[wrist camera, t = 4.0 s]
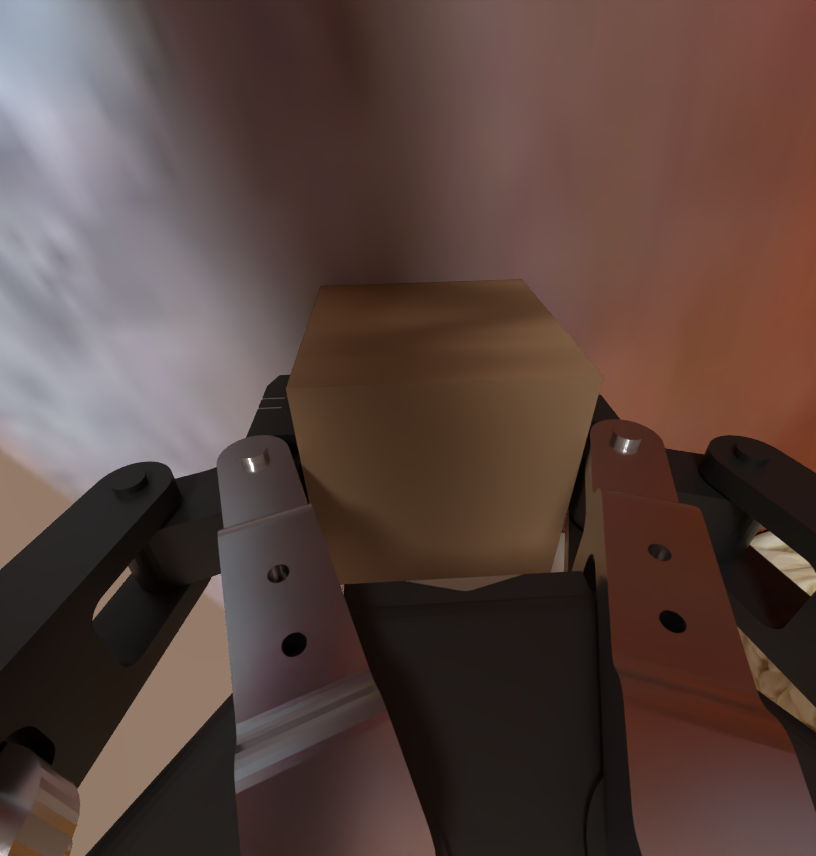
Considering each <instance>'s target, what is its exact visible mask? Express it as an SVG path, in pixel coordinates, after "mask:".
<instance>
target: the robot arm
mask: <svg viewBox="0 0 816 856" xmlns="http://www.w3.org/2000/svg"><path fill="white" fill-rule="evenodd" d="M289 378H290V375H280V376H278V377H277V378H276V379H275V380H274V381H272V382H271V383H270V384H269V385H268V386H267V388H266V391H265V393H264V395H263V400H261V403H260V405H259V409H258V410H257V412H256V415H255V417H254V420H253V422H252V424H251V427H250V429H249V432H248V434H247V437H246V438H244V439H241V440H239V441H237V442H235V443H233V444H231V445H230V446H228V447H227V448H226V449H224V450H223V451H222V453H221V454H220V455H219V457H218V459H217V467H216V468H213V469H210V470H207V471H204V472H200V473H196V474H192V475H188V476H184V477H180V478H176V479H175V478H174V476H173V474H172V471H171V469H170V468H169V467H168V466H166V465H165V464H162V463H159V462H140V463H135V464H131V465H128V466H125V467H122V468H120V469H117V470H115V471H113V472H111V473H110V474H108V475H106V476H105V477H103V478H102V479H101V480H100V481H98V482H97V483H96V484H95V485H94V486H93V487H92V488H91V489H90V490H88V491H87V492H86V493H85V494H84V495H83V496H82V497H81V498H80V499H78V500H77V501H76V502H75V503H74V504H73V505H72V506H71V507H70V508H68V509H67V510H66V511H65V512H64V513H63V514H62V515H61V516H60V517H59V518H57V519H56V520H55V521H54V522H53V523H52V524H51V525H50V526H49V527H47V528H46V529H45V530H44V531H43V532H42V533H41V534H40V535H39V536H37V537H36V538H35V539H34V540H33V541H32V542H31V543H30V544H29V545H27V546H26V547H25V548H24V549H23V550H22V551H21V552H20V553H19V554H17V555H16V556H15V557H14V558H13V559H12V560H11V561H10V562H9V563H7V564H6V565H5V566H4V567H3V568H2V569H1V570H0V856H70V853H71V849H72V837H73V834H74V832H75V829H76V826H77V822H78V818H79V812H80V798H79V794H78V791H77V789H78V787H79V786H80V784H81V782H82V781H83V779H84V778H85V776H86V774H87V773H88V771H89V770H90V768H91V767H92V765H93V764H94V762H95V761H96V759H97V757H98V756H99V754H100V752H101V751H102V750H103V748H104V746H105V745H106V743H107V742H108V740H109V738H110V737H111V735H112V734H113V732H114V731H115V729H116V728H117V726H118V724H119V723H120V721H121V720H122V718H123V717H124V715H125V713H126V712H127V710H128V709H129V707H130V706H131V704H132V703H133V701H134V699H135V698H136V696H137V695H138V693H139V691H140V690H141V688H142V687H143V685H144V684H145V682H146V680H147V679H148V677H149V676H150V674H151V672H152V671H153V670H154V668H155V666H156V665H157V663H158V662H159V660H160V658H161V657H162V655H163V654H164V652H165V651H166V649H167V647H168V646H169V645H170V643H171V641H172V640H173V638H174V636H175V635H176V634H177V632H178V630H179V629H180V627H181V626H182V624H183V623H184V621H185V619H186V618H187V616H188V615H189V613H190V612H191V610H192V608H193V607H194V605H195V604H196V602H197V601H198V599H199V597H200V596H201V594H202V593H203V591H204V590H205V588H206V587H207V585H208V583H209V581H210V580H211V577H212V576H215V575H218V574H221V578H222V588H223V598H224V608H225V619H226V629H227V639H228V649H229V659H230V670H231V680H232V690H233V693H232V694H231V695H230V696H229V697H228V698H227V699H226V701H225V702H224V703H223V704H222V705H221V706H220V707H219V708H218V709H217V711H216V712H215V713H214V714H213V715H212V716H211V717H210V718H209V719H208V721H207V722H206V723H205V724H204V725H203V726H202V727H201V728H200V729H199V730H198V732H197V733H196V734H195V735H194V736H193V737H192V738H191V739H190V741H188V743H187V744H186V745H185V746H184V747H183V748H182V749H181V750H180V751H179V753H178V754H177V755H176V756H175V757H174V758H173V759H172V760H171V761H170V763H169V764H168V765H167V766H166V767H165V768H164V769H163V770H162V771H161V773H160V774H159V775H158V776H157V777H156V778H155V779H154V780H153V781H152V782H151V784H150V785H149V786H148V787H147V788H146V789H145V790H144V791H143V793H142V794H141V795H140V796H139V797H138V798H137V799H136V800H135V801H134V802H133V804H132V805H131V806H130V807H129V808H128V809H127V810H126V811H125V812H124V813H123V815H122V816H121V817H120V818H119V819H118V820H117V821H116V822H115V823H114V824H113V826H112V827H111V828H110V829H109V830H108V831H107V832H106V833H105V835H104V836H103V837H102V838H101V839H100V840H99V841H98V842H97V843H96V844H95V845H94V847H93V848H92V849H91V850H90V851H89V852H88V853H87V854H86V855H85V856H816V732H815V731H813V730H812V729H811V728H809V727H808V726H806V725H805V724H804V723H802V722H801V721H800V720H798V719H797V718H795V717H794V716H793V715H791V714H790V713H788V712H787V711H786V710H784V709H783V708H782V707H780V706H779V705H777V704H776V703H775V702H773V701H772V700H770V699H769V698H768V697H766V696H765V695H764V694H762V693H761V692H759V691H758V690H757V689H756V686H755V683H754V679H753V676H752V673H751V670H750V666H749V663H748V660H747V657H746V653H745V650H744V647H743V644H742V641H741V637H740V634H739V631H738V628H739V629H740V630H741V631H742V632H743V633H744V634H745V635H746V636H747V637H748V638H749V639H750V640H751V641H752V642H753V643H754V644H755V645H756V646H757V647H758V648H759V649H760V650H761V651H762V652H763V654H764V655H765V656H766V657H767V658H768V659H769V660H770V661H771V662H772V663H773V664H774V665H775V666H776V667H777V668H778V669H779V670H780V671H781V672H782V673H783V674H784V675H785V676H786V677H787V678H788V680H789V681H790V682H791V683H792V684H793V685H794V686H795V687H796V688H797V689H798V690H799V691H800V692H801V693H802V694H803V695H804V696H805V697H806V698H807V699H808V700H809V701H810V702H811V703H812V704H813V705H814V707H815V708H816V591H815V592H814V593H813V594H812V595H811V596H810V595H808V594H807V593H806V592H805V591H804V590H803V589H801V588H800V587H799V586H798V585H797V584H796V583H794V582H793V581H792V580H791V579H790V578H789V577H787V576H786V575H785V574H784V573H783V572H781V571H780V570H779V569H778V568H777V567H776V566H774V565H773V564H772V563H771V562H770V561H769V560H767V559H766V558H765V557H764V556H763V555H761V554H760V553H759V552H758V551H757V550H756V549H754V548H753V547H752V546H751V545H750V543H751V541H752V540H753V538H754V537H755V535H756V534H757V532H758V531H759V529H760V528H761V526H764V527H765V528H766V529H767V530H769V531H770V532H771V533H772V534H774V535H775V536H776V537H778V538H779V539H780V540H781V541H783V542H784V543H785V544H786V545H788V546H789V547H790V548H791V549H793V550H794V551H795V552H796V553H798V554H799V555H800V556H801V557H803V558H804V559H805V560H806V561H807V562H808V563H809V564H810V565H811V566H812V568H813V569H814V571H815V573H816V473H815V472H813V471H811V470H810V469H808V468H807V467H805V466H803V465H802V464H800V463H799V462H797V461H795V460H794V459H792V458H791V457H789V456H787V455H786V454H784V453H783V452H781V451H779V450H778V449H776V448H774V447H773V446H770V445H768V444H766V443H764V442H761V441H758V440H755V439H752V438H747V437H742V436H733V435H728V436H720V437H717V438H715V439H713V440H712V441H711V442H710V444H709V446H708V448H707V450H706V452H705V454H697V453H691V452H684V451H677V450H671V449H666V448H665V447H664V443H663V441H662V439H661V438H660V437H659V436H658V435H657V434H656V433H655V432H654V431H652V430H651V429H649V428H647V427H645V426H643V425H641V424H638V423H635V422H631V421H627V420H620V418H619V417H618V416H617V415H616V413H615V412H614V411H613V410H612V408H611V407H610V406H609V404H608V403H607V402H606V401H605V399H604V398H603V397H602V396H601V395H598V398H597V402H596V406H595V410H594V413H593V417H592V421H591V424H590V428H589V432H588V436H587V439H586V443H585V447H584V451H583V454H582V458H581V462H580V465H579V469H578V473H577V477H576V480H575V484H574V488H573V491H572V495H571V499H570V503H569V506H568V510H569V511H568V515H567V519H566V523H565V546H564V572H552V573H534V574H523V575H520V576H516V577H513V578H510V579H506V580H503V581H500V582H497V583H493V584H490V585H487V586H484V587H480V588H477V589H474V590H470V591H460V590H454V589H448V588H442V587H436V586H431V585H425V584H419V583H413V582H407V581H392V582H374V583H357V584H344V595H343V592H342V589H341V586H340V583H339V581H338V578H337V575H336V572H335V569H334V566H333V563H332V561H331V558H330V555H329V552H328V549H327V546H326V543H325V541H324V538H323V535H322V532H321V529H320V526H319V523H318V521H317V518H316V515H315V512H314V509H313V507H312V505H311V503H309V499H308V494H307V489H306V484H305V480H304V475H303V470H302V465H301V460H300V455H299V450H298V446H297V441H296V436H295V431H294V426H293V421H292V416H291V412H290V407H289V402H288V397H287V392H286V387H287V384H288V381H289ZM127 566H128V567H129V568H130V570H131V572H132V574H131V575H130V576H129V577H128V578H127V579H126V581H125V582H124V583H123V584H122V586H121V587H120V588H119V589H118V590H117V592H116V593H115V594H114V595H113V597H112V598H111V599H110V600H109V601H108V603H107V604H106V605H105V606H104V608H103V609H102V610H101V611H100V613H99V614H98V615H97V616H96V617H95V619H94V620H93V621H92V619H93V613H94V610H95V608H96V606H97V604H98V602H99V600H100V599H101V597H102V596H103V595H104V594H105V592H106V591H107V590H108V589H109V588H110V587H111V585H112V584H113V583H114V582H115V581H116V580H117V578H118V577H119V576H120V575H121V573H122V572H123V571H124V570H125V569H126V568H127ZM737 627H738V628H737Z"/></svg>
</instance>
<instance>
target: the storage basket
mask: <svg viewBox="0 0 816 856" xmlns="http://www.w3.org/2000/svg"><path fill="white" fill-rule="evenodd" d="M750 545H751V546H752V547H753V548H754V549H756V550H757V551H758V552H759V553H760V554H761V555H763V556H764V557H765V558H766V559H767V560H769V561H770V562H771V563H772V564H773V565H774V566H776V567H777V568H778V569H779V570H780V571H781V572H783V573H784V574H785V575H786V576H787V577H789V578H790V579H791V580H792V581H793V582H794V583H796V584H797V585H798V586H799V587H800V588H801V589H803V590H804V591H805V592H806V593H807V594H808V595H810V596H811V595H812V594H813V593H814V592H815V591H816V573H815V571H814V569H813V568H812V566H811V565H810V564H809V563H808V562H807V561H806V560H805V559H804V558H803V557H801V556H800V555H799V554H798V553H796V552H795V551H794V550H793V549H791V548H790V547H789V546H788V545H786V544H785V543H784V542H783V541H781V540H780V539H779V538H778V537H776V536H775V535H774V534H772V533H771V532H770V531H768V532H765V533H761V534H758V535H756V536H755V537H754V538H753V540H752V541H751V543H750ZM737 628H738V627H737ZM738 631H739V634H740V637H741V641H742V644H743V647H744V650H745V653H746V657H747V660H748V663H749V666H750V670H751V673H752V676H753V679H754V683H755V686H756V689H757V690H758V691H759V692H761V693H762V694H764V695H765V696H766V697H768V698H769V699H770V700H772V701H773V702H775V703H776V704H777V705H779V706H780V707H782V708H783V709H784V710H786V711H787V712H788V713H790V714H791V715H793V716H794V717H795V718H797V719H798V720H800V721H801V722H802V723H804V724H805V725H806V726H808V727H809V728H811V729H812V730H813V731H815V732H816V708H815V707H814V705H813V704H812V703H811V702H810V701H809V700H808V699H807V698H806V697H805V696H804V695H803V694H802V693H801V692H800V691H799V690H798V689H797V688H796V687H795V686H794V685H793V684H792V683H791V682H790V681H789V680H788V678H787V677H786V676H785V675H784V674H783V673H782V672H781V671H780V670H779V669H778V668H777V667H776V666H775V665H774V664H773V663H772V662H771V661H770V660H769V659H768V658H767V657H766V656H765V655H764V654H763V652H762V651H761V650H760V649H759V648H758V647H757V646H756V645H755V644H754V643H753V642H752V641H751V640H750V639H749V638H748V637H747V636H746V635H745V634H744V633H743V632H742V631H741V630H740V629H739V628H738Z"/></svg>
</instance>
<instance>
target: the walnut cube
mask: <svg viewBox="0 0 816 856" xmlns="http://www.w3.org/2000/svg"><path fill="white" fill-rule="evenodd" d="M603 376H604V375H603V374H602V373H601V372H600V370H599V369H598V368H597V367H596V366H595V365H594V363H593V362H592V361H591V360H590V359H589V358H588V356H587V355H586V354H585V353H584V352H583V351H582V349H581V348H580V347H579V346H578V345H577V344H576V342H575V341H574V340H573V339H572V338H571V337H570V335H569V334H568V333H567V332H566V331H565V330H564V328H563V327H562V326H561V325H560V324H559V323H558V321H557V320H556V319H555V318H554V317H553V316H552V314H551V313H550V312H549V311H548V310H547V309H546V307H545V306H544V305H543V304H542V303H541V302H540V300H539V299H538V298H537V297H536V296H535V295H534V293H533V292H532V291H531V290H530V289H529V288H528V286H527V285H526V284H525V283H524V282H523V281H522V279H515V280H487V281H458V282H429V283H400V284H372V285H343V286H321V287H320V290H319V293H318V296H317V299H316V302H315V305H314V308H313V311H312V314H311V316H310V319H309V322H308V325H307V328H306V331H305V334H304V337H303V340H302V343H301V346H300V349H299V352H298V354H297V357H296V360H295V363H294V366H293V369H292V372H291V375H290V378H289V381H288V384H287V387H286V392H287V397H288V402H289V407H290V412H291V416H292V421H293V426H294V431H295V436H296V441H297V446H298V450H299V455H300V460H301V465H302V470H303V475H304V480H305V484H306V489H307V494H308V499H309V503H311V505H312V507H313V509H314V512H315V515H316V518H317V521H318V523H319V526H320V529H321V532H322V535H323V538H324V541H325V543H326V546H327V549H328V552H329V555H330V558H331V561H332V563H333V566H334V569H335V572H336V575H337V578H338V581H339V583H340V585H342V584H357V583H374V582H392V581H413V580H431V579H449V578H467V577H484V576H502V575H520V574H534V573H551V570H552V566H553V562H554V558H555V555H556V551H557V547H558V544H559V540H560V536H561V532H562V529H563V525H564V521H565V518H566V514H567V510H568V506H569V503H570V499H571V495H572V491H573V488H574V484H575V480H576V477H577V473H578V469H579V465H580V462H581V458H582V454H583V451H584V447H585V443H586V439H587V436H588V432H589V428H590V424H591V421H592V417H593V413H594V410H595V406H596V402H597V398H598V395H599V391H600V387H601V384H602V380H603Z"/></svg>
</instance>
